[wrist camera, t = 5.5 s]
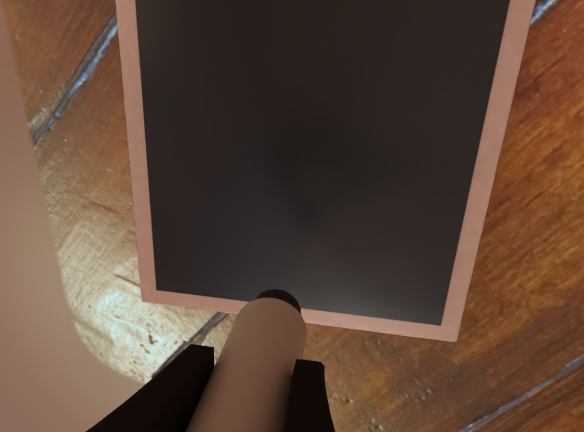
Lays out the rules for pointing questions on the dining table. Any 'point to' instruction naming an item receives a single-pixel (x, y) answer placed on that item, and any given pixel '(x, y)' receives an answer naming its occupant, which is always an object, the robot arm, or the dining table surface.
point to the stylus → (254, 369)
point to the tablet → (317, 151)
